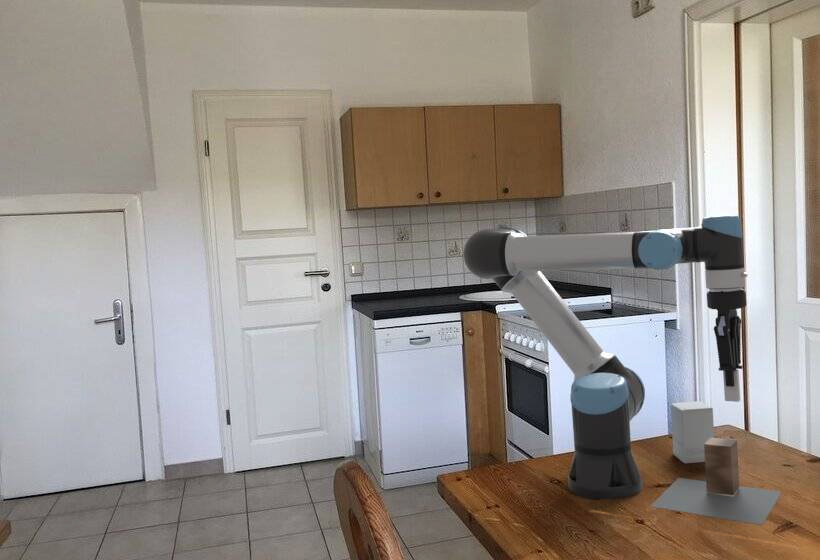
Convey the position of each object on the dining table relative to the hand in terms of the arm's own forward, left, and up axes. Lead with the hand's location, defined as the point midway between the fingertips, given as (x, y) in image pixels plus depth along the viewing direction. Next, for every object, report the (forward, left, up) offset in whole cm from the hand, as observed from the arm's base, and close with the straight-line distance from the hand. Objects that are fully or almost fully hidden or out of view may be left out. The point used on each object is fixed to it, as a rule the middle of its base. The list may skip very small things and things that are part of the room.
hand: (732, 400), depth 151 cm
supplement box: (-11, +9, -17) cm, 22 cm away
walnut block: (0, -10, -16) cm, 19 cm away
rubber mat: (0, -15, -17) cm, 22 cm away
